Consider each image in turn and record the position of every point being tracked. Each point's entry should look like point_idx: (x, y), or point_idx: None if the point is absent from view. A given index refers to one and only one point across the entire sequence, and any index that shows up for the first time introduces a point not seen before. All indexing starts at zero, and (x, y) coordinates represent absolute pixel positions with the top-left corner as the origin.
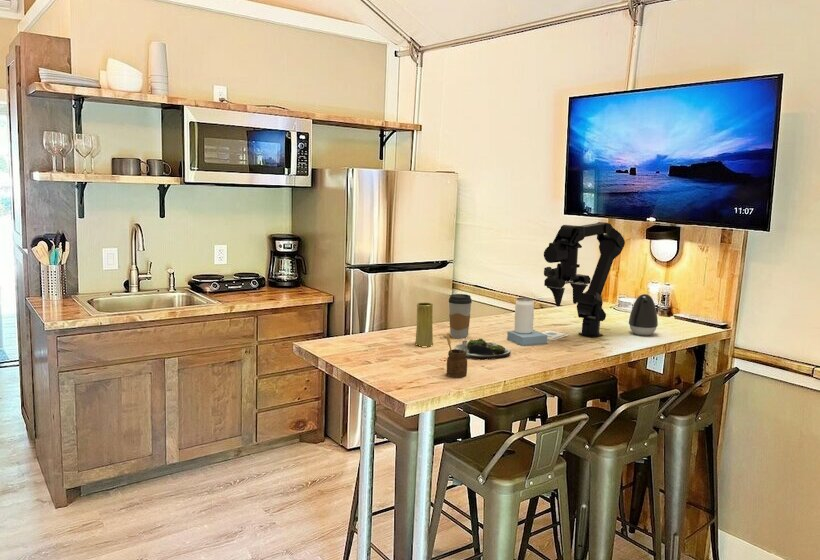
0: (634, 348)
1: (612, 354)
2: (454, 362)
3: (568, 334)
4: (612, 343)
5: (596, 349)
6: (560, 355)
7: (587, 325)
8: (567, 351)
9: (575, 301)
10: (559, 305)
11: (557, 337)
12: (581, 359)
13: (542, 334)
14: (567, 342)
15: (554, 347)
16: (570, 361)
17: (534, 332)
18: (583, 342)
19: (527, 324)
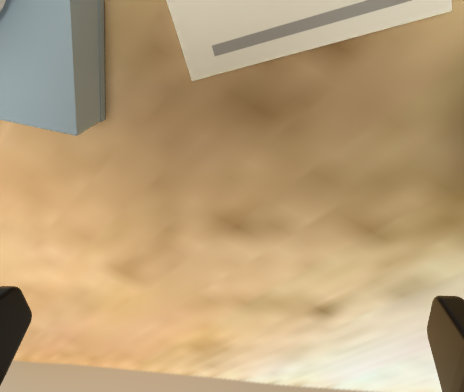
0: (431, 386)
1: (256, 377)
2: None
3: (446, 2)
4: None
5: (263, 314)
6: (47, 287)
7: None
8: (113, 268)
9: (439, 368)
10: (16, 335)
11: (276, 38)
12: (93, 351)
13: (56, 99)
14: (242, 161)
15: (98, 194)
16: (40, 344)
17: (27, 12)
18: (328, 210)
19: None
